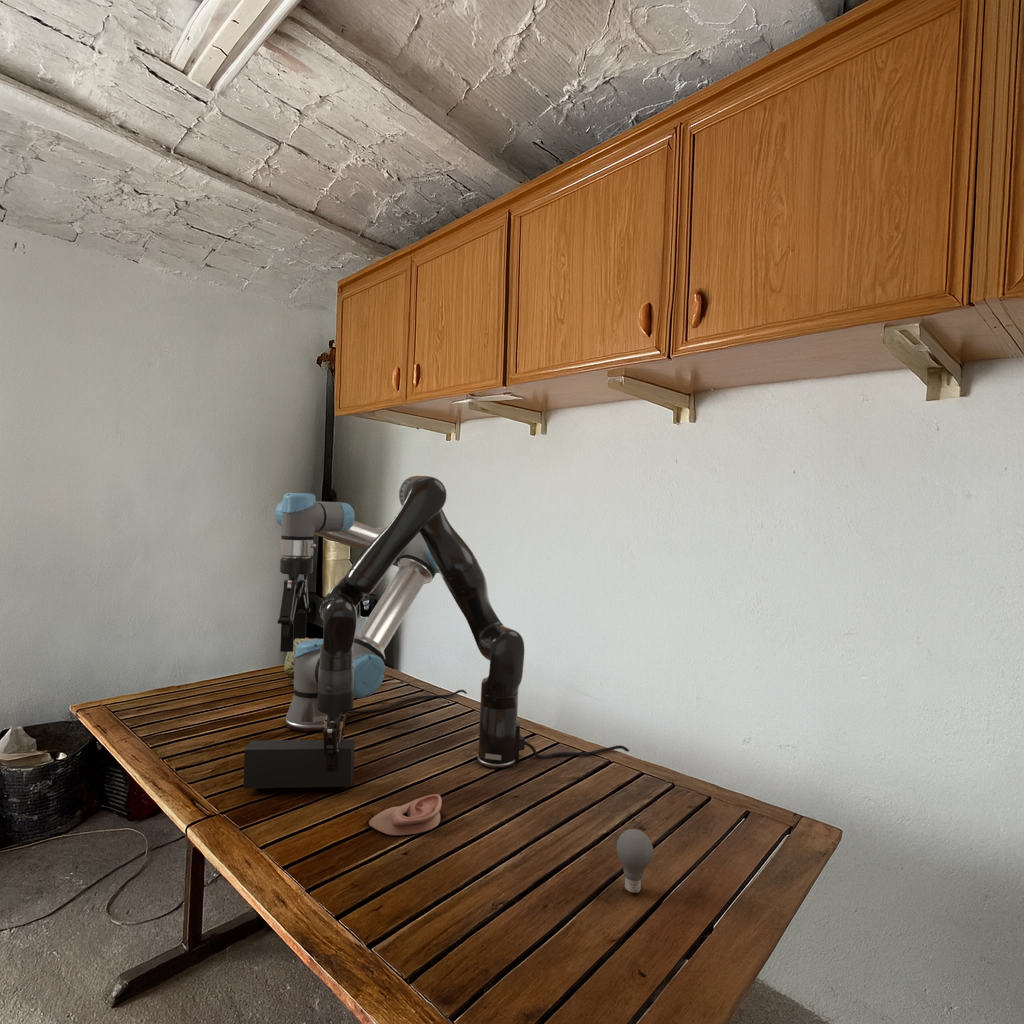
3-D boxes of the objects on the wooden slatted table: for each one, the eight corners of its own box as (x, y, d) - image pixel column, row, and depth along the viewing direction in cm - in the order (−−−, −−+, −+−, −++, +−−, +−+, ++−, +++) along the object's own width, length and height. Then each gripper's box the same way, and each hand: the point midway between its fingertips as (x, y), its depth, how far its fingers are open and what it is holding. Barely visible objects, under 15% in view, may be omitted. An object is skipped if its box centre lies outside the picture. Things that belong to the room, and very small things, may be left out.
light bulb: (610, 879, 108) (613, 822, 108) (644, 879, 109) (647, 822, 109) (619, 902, 102) (622, 840, 102) (655, 901, 103) (658, 840, 103)
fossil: (280, 681, 212) (281, 637, 212) (331, 673, 224) (333, 631, 224) (290, 688, 205) (292, 642, 205) (343, 679, 218) (345, 636, 217)
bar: (243, 788, 133) (244, 749, 133) (250, 778, 138) (251, 740, 138) (350, 786, 136) (351, 748, 135) (353, 776, 141) (354, 739, 140)
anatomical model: (362, 810, 120) (386, 784, 132) (361, 831, 121) (385, 803, 132) (429, 820, 118) (447, 793, 129) (428, 841, 118) (446, 812, 129)
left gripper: (301, 562, 141) (297, 657, 141) (322, 552, 165) (319, 633, 166) (266, 561, 140) (263, 657, 140) (293, 551, 165) (289, 633, 165)
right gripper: (348, 698, 130) (346, 779, 131) (358, 677, 145) (356, 751, 145) (311, 698, 130) (309, 780, 130) (324, 677, 144) (322, 751, 144)
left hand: (293, 644), depth 153 cm, fingers open, 13 cm apart
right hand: (334, 764), depth 138 cm, fingers closed on bar, 5 cm apart
